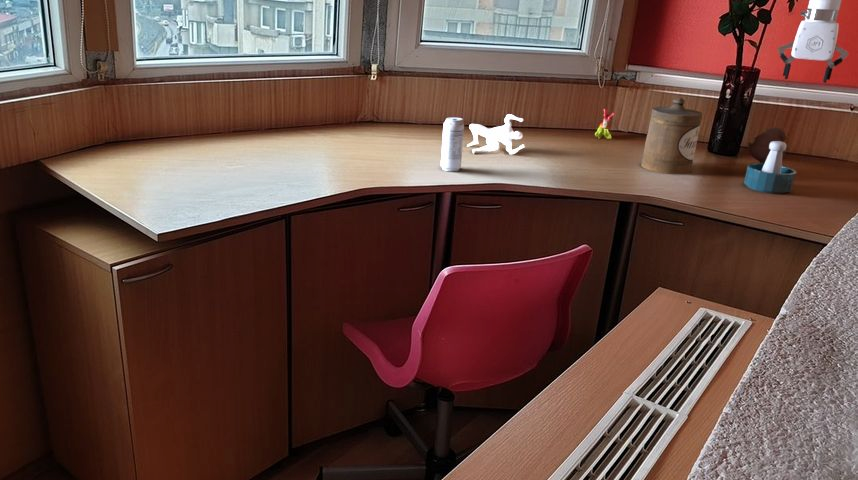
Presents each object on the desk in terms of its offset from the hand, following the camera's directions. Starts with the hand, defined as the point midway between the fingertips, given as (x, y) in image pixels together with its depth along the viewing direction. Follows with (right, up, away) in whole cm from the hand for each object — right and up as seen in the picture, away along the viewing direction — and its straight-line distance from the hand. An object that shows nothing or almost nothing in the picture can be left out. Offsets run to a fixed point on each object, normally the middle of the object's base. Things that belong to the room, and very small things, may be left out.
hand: (805, 80), depth 202 cm
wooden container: (-30, -22, +24) cm, 44 cm away
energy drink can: (-99, -24, +12) cm, 103 cm away
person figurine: (-82, -15, +36) cm, 91 cm away
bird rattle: (-38, -5, +64) cm, 75 cm away
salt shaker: (-8, -29, +6) cm, 31 cm away
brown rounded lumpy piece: (-2, -24, +21) cm, 32 cm away
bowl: (-8, -30, +6) cm, 31 cm away
